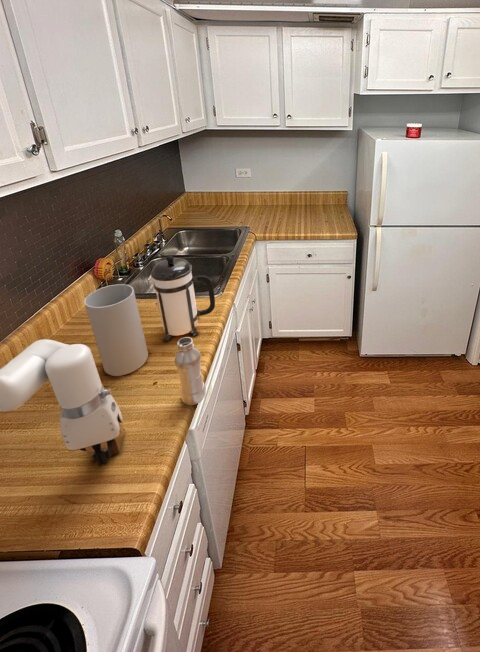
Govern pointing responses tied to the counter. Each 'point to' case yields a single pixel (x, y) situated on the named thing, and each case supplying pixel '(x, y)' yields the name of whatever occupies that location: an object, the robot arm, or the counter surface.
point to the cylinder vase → (117, 328)
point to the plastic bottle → (190, 372)
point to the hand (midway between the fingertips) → (104, 459)
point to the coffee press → (178, 296)
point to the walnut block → (116, 446)
